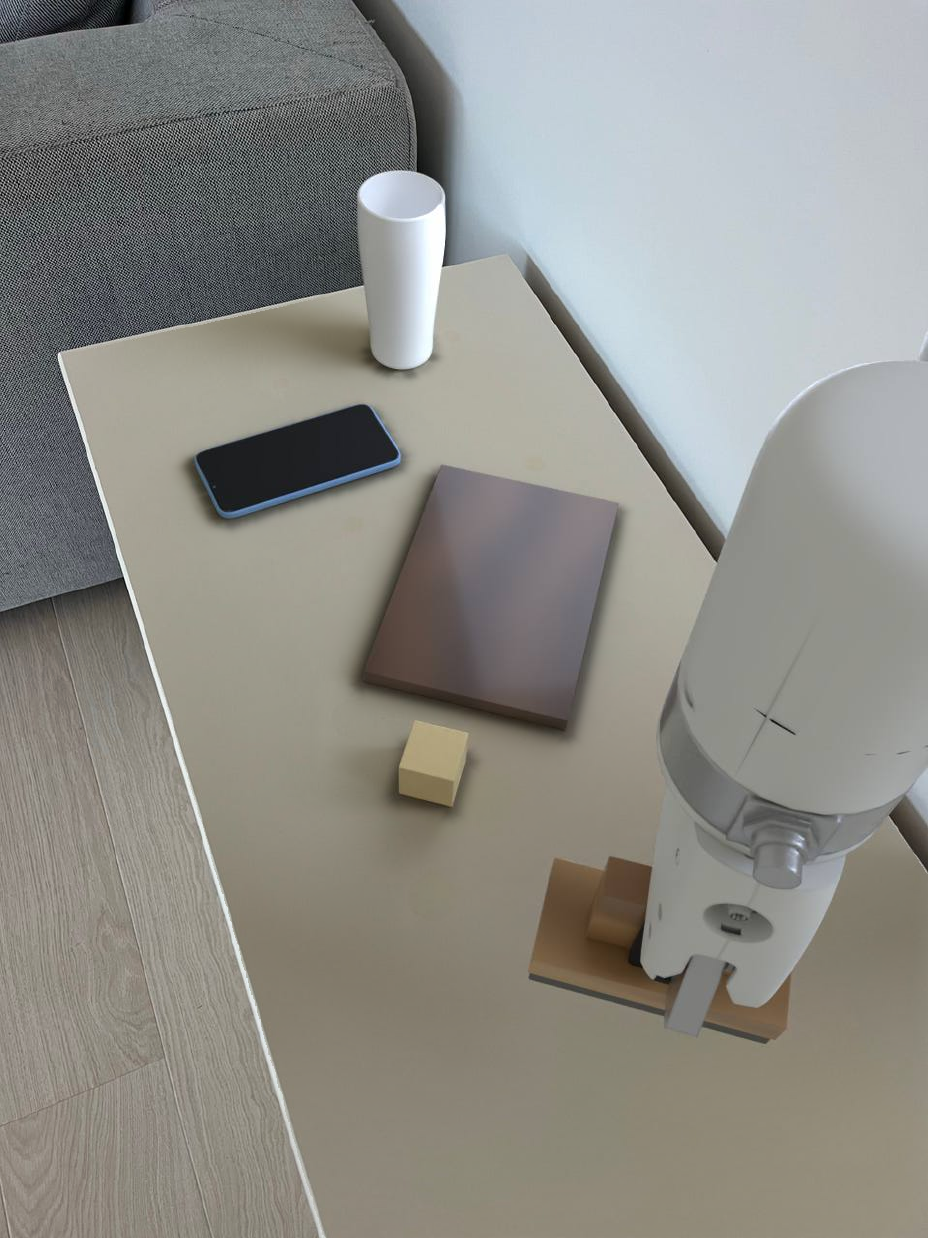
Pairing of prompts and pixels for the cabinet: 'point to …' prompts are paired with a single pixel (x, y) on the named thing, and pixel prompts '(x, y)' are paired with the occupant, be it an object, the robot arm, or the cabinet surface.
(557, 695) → the book
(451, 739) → the cream foam cube
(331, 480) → the smartphone
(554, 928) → the brown block with base
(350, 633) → the cabinet surface
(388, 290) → the drinking glass
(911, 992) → the cabinet surface
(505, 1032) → the cabinet surface
